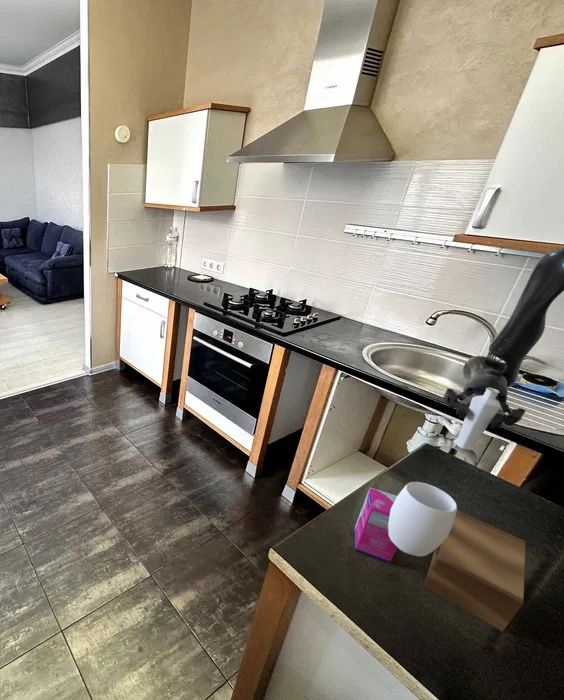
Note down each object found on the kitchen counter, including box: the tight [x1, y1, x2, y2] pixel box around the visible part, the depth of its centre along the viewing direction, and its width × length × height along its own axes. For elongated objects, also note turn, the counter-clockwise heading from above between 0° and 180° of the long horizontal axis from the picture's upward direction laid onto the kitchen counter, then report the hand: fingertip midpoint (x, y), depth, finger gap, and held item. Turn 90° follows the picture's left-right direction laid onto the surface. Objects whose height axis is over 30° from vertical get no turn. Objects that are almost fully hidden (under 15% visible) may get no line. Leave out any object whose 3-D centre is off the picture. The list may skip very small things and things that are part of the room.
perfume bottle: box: [453, 388, 501, 452], centre depth 84 cm, size 5×4×15 cm
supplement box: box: [353, 487, 398, 564], centre depth 71 cm, size 6×6×12 cm
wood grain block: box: [423, 510, 527, 633], centre depth 66 cm, size 16×10×7 cm, turn 133°
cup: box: [388, 481, 458, 558], centre depth 62 cm, size 7×7×21 cm
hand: (478, 419), depth 82 cm, fingers closed on perfume bottle, 4 cm apart
